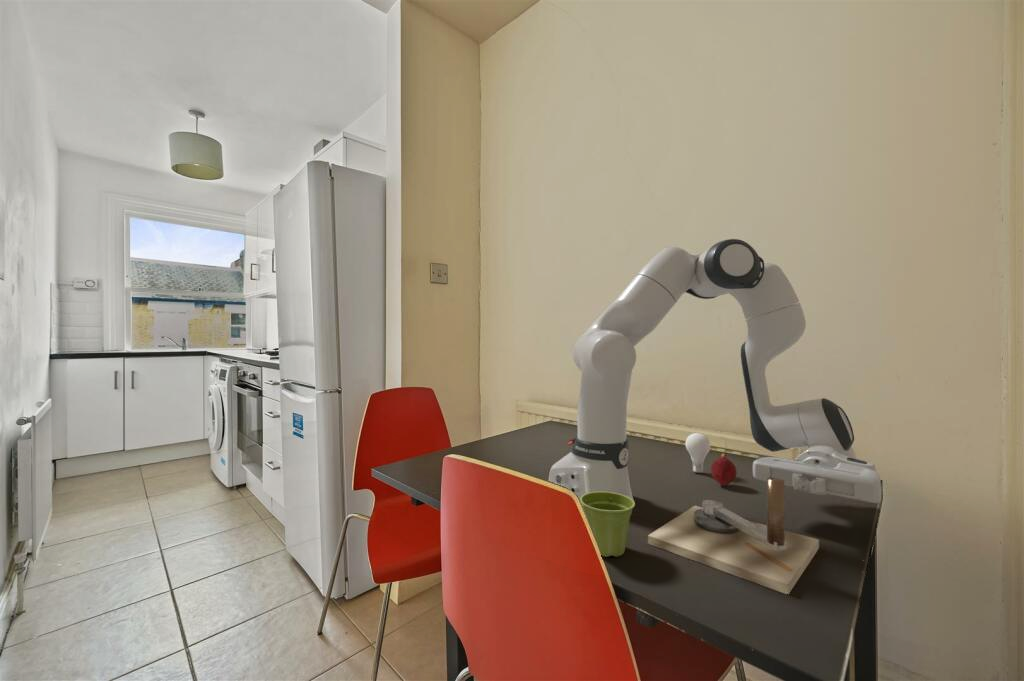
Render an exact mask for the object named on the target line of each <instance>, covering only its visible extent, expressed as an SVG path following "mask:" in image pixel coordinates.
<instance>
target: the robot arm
mask: <svg viewBox="0 0 1024 681" xmlns="http://www.w3.org/2000/svg"><path fill="white" fill-rule="evenodd" d="M685 293H686V294H689V295H691V296H693V297H695V298H698V299H702V300H703V299H704V300H709V299H715V298H717V297H719V296H723V295H727V294H729V295H731V297H733V298H734V299H735V300H736V301H737V302H738V304H739V305H740V307H741V309H742V313H743V316H744V319H745V321H746V325H747V337H746V340H745V341H744V342H743V343H742V344H741V347H740V361H741V368H742V373H743V374H742V375H743V380H744V385H745V391H746V392H745V393H746V398H747V403H748V410H749V421H750V431H751V435H752V438H753V440H754V441H755V443H756V444H758V445H759V446H760V447H762V448H764V449H765V450H767V451H769V452H771V453H775V452H779V451H785V450H789V449H792V448H793V449H795V448H803V447H804V448H805V447H807V448H806V450H804V451H803V452H802V453H800V454H799V455H797V457H796V458H795V460H793V459H787V458H782V457H775V456H764V457H760V458H756V459H755V460H753V462H752V476H753V478H755V480H758V481H764V482H767V478H770V477H773V478H779V479H782V480H784V486H787V487H792V488H794V489H793V490H794V491H798V492H799V491H800V492H803V493H808V494H815V495H821V496H837V497H841V498H846V499H851V500H855V501H860V502H861V501H862V502H865V503H869V504H870V503H872V504H880V503H881V501H882V500H881V499H882V498H881V496H882V494H881V492H882V487H881V476H880V474H879V473H878V472H877V469H876V465H875V464H874V463H872V462H868V461H865V460H861V459H857V456H856V453H855V451H854V449H853V447H852V446H853V444H854V442H855V435H854V430H853V426H852V424H851V421H850V420H849V417H848V416H847V414H846V412H845V410H844V409H843V408H842V407H841V406H840V405H837V403H835V402H834V401H832V400H830V399H827V398H825V397H823V398H816V399H809V400H803V401H800V402H795V403H794V402H793V403H789V404H783V405H773V404H772V403H771V400H770V395H769V394H770V393H769V389H768V383H767V376H766V368H767V366H768V364H769V363H770V362H771V361H772V360H773V359H775V358H776V357H778V356H780V354H782V353H784V352H785V351H788V349H791V347H793V346H794V345H796V343H797V342H799V341H800V339H801V337H802V336H803V335H804V332H805V330H806V327H807V326H806V325H807V322H806V318H805V315H804V314H805V313H804V311H803V308H802V304H801V303H800V301H799V298H798V296H797V293H796V291H795V289H794V288H793V286H792V284H791V282H790V280H789V278H788V277H787V275H786V274H785V272H784V271H783V269H782V268H781V267H780V266H778V264H775V263H772V262H771V263H770V262H765V261H764V259H763V258H762V257H761V256H759V254H758V253H757V251H756V249H754V247H753V246H751V244H749V243H748V242H746V241H744V240H742V239H737V238H730V239H724V240H722V241H721V240H720V241H719V242H717V243H714V244H713V245H712V246H711V247H709V248H707V249H705V250H703V251H702V252H701V253H700V252H699V254H696V255H695V254H691V253H689V252H688V251H686V250H685V249H683V248H682V247H681V248H680V247H677V246H669V247H664V248H663V249H661V250H660V251H659V252H658V253H657V254H655V255H654V256H653V257H652V258H651V259H650V260H648V262H646V263H645V265H644V266H643V267H642V268H640V270H639V271H638V272H637V273H636V275H635V276H634V277H633V278H632V279H631V281H630V282H629V283H628V284H627V286H626V287H625V288H624V289H623V290H622V292H621V293H620V294H619V295H618V296H617V297H616V298H615V300H614V301H613V302H612V303H611V304H610V305H609V306H608V307H607V308H606V309H605V310H604V311H603V312H602V313H601V314H600V315H599V316H598V318H596V320H595V321H594V322H593V323H592V324H591V325H590V326H588V328H587V329H586V331H585V332H583V334H582V335H581V336H580V337H579V338H578V339H577V341H576V342H575V344H574V347H573V350H572V351H573V352H572V353H573V355H572V358H573V361H574V363H575V365H576V367H577V368H578V370H580V371H581V377H580V379H581V380H580V388H579V396H578V402H577V408H576V409H577V414H576V415H577V422H576V423H577V436H575V437H574V438H572V439H569V440H567V441H568V443H567V445H568V446H572V447H571V450H570V452H568V454H566V455H565V456H563V457H561V459H559V460H558V461H556V462H555V463H554V464H552V466H551V467H550V471H549V474H548V481H550V482H553V483H555V484H558V485H561V486H564V487H566V488H568V489H570V490H572V491H573V492H574V493H575V494H576V495H577V496H578V498H579V500H580V498H581V496H582V495H584V494H586V493H590V492H613V493H618V494H622V495H625V496H627V497H629V498H631V499H632V500H633V501H634V502H635V500H634V497H633V493H632V489H631V485H630V483H631V482H630V479H629V478H630V477H629V470H628V465H629V457H630V456H629V452H630V451H629V440H628V438H627V404H628V397H629V391H630V386H631V381H632V374H633V369H634V367H635V365H636V362H637V361H636V360H637V353H636V352H637V351H636V348H635V346H637V345H638V344H639V343H640V342H641V341H642V340H643V339H645V337H647V336H648V335H650V334H651V333H652V332H653V331H654V330H655V329H656V328H657V327H658V325H659V324H660V323H661V322H662V320H663V319H664V318H665V317H666V315H667V314H668V313H669V312H670V310H671V309H673V307H674V306H675V305H676V303H678V301H679V299H680V298H681V297H682V296H683V295H684V294H685ZM582 506H583V505H582Z"/></svg>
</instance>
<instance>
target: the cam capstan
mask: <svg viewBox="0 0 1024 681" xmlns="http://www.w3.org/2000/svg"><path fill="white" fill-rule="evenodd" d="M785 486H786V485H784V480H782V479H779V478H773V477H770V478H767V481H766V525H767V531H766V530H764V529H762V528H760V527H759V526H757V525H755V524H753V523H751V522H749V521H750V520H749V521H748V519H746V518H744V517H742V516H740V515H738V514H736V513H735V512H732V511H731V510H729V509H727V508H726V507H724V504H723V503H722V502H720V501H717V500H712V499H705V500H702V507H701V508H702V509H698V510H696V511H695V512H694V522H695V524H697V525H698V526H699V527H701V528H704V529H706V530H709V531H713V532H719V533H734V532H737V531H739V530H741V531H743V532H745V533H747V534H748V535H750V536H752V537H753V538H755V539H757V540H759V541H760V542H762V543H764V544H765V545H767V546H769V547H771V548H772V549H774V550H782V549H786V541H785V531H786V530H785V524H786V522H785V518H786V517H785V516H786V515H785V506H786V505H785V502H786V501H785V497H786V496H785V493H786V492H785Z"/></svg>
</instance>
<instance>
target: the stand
mask: <svg viewBox="0 0 1024 681" xmlns="http://www.w3.org/2000/svg"><path fill="white" fill-rule="evenodd" d="M698 509H702V507H701V506H697V505H694V506H692V507H691V508H688V509H687V510H686V511H684V512H682V513H680V514H679V515H678V516H676V517H674V518H673V519H672V520H669V522H667V523H665V524H664V525H662V526H660V527H659V528H657V529H656V530H654V531H653V532H651V533H649V534H648V535H647V545H650V546H653V547H656V548H659V549H662V550H664V551H666V552H670V553H671V554H672V553H673V554H675V555H678V556H680V557H683V558H686V559H688V560H692V561H695V562H697V563H700V564H702V565H705V566H708V567H711V568H713V569H716V570H719V571H722V572H723V573H727V574H730V575H733V576H736V577H738V578H741V579H744V580H746V581H748V582H752V583H754V584H757V585H760V586H763V587H766V588H768V589H770V590H771V589H772V590H774V591H777V592H780V593H781V594H784V595H787V594H788V595H790V593H791V591H792V590H793V588H794V586H796V584H797V582H798V581H799V579H800V578H801V576H802V575H803V573H804V571H805V570H806V568H807V567H808V566H809V564H810V563H811V562H812V559H813V558H814V557H815V555H816V554H817V552H818V551H819V549H820V539H817V538H814V537H811V536H807V535H803V534H800V533H796V532H792V531H789V530H785V541H786V549H782V550H774V549H772V548H771V547H769V546H767V545H765V544H764V543H762V542H760V541H759V540H757V539H755V538H753V537H752V536H750V535H748V534H747V533H745V532H743V531H741V530H739V531H737V532H734V533H719V532H713V531H709V530H706V529H704V528H701V527H699V526H698V525H697V524H695V522H694V512H695V511H696V510H698ZM747 520H748V519H747ZM748 521H749V522H751V523H753V524H755V525H757V526H759V527H760V528H762V529H764V530H766V531H767V524H763V523H759V522H756V521H752V520H748Z"/></svg>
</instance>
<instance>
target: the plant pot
mask: <svg viewBox="0 0 1024 681" xmlns="http://www.w3.org/2000/svg"><path fill="white" fill-rule="evenodd" d="M580 502H581V504H582V505H583V509H584V511H583V512H584V515H586V517H585V519H586V518H587V520H588V523H589V525H590V527H591V530H592V532H593V535H594V537H595V539H596V542H597V544H598V546H599V549H600V552H601V555H602V556H601V557H606V558H608V557H611V556H613V557H615V558H616V557H620V556H622V555H624V553H625V551H626V545H627V539H628V532H629V527H630V526H629V525H630V520H631V519H630V518H631V516H632V513H633V509H634V508H635V506H636V502H635V500H634V501H633V500H632V499H631V498H629V497H627V496H625V495H622V494H618V493H613V492H590V493H586V494H584V495H582V496H581V498H580Z"/></svg>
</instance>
